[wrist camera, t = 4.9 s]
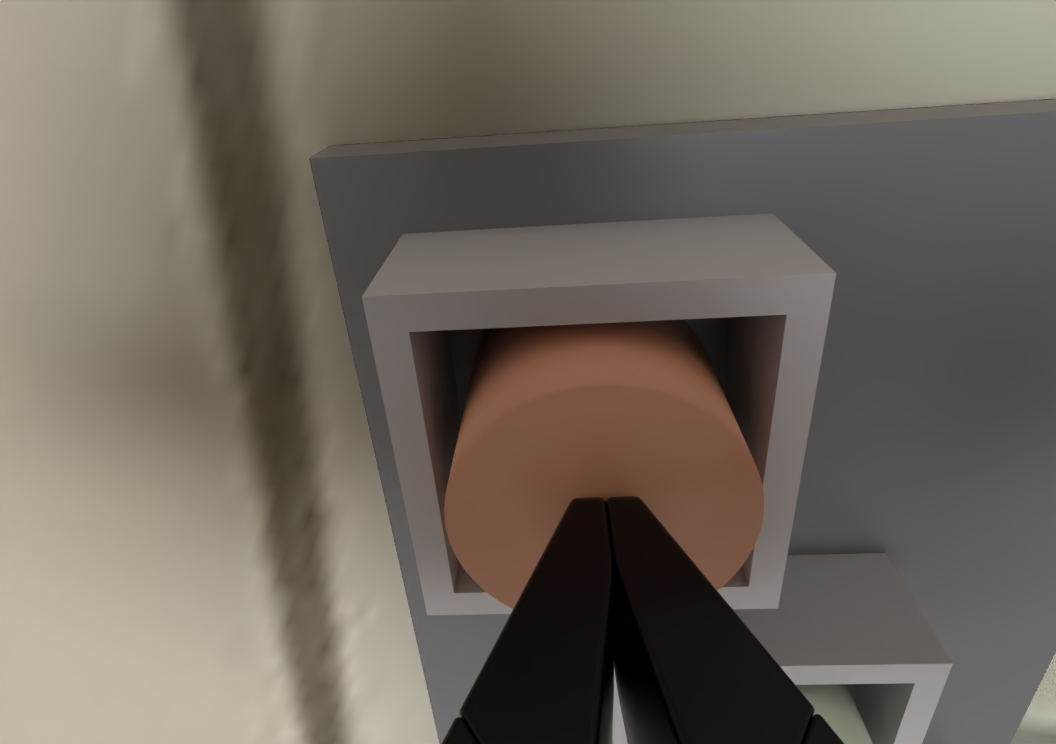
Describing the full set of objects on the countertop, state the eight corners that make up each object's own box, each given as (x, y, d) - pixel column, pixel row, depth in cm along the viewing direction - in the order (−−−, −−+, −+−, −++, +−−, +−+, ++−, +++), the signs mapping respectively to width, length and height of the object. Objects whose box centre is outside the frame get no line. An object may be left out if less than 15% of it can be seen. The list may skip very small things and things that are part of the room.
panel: (1262, 85, 10) (1592, 123, 7) (921, 851, 20) (986, 1001, 17) (329, 145, 10) (237, 203, 7) (475, 850, 21) (462, 993, 18)
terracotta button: (721, 277, 10) (782, 378, 7) (704, 487, 12) (747, 626, 9) (456, 291, 10) (422, 392, 7) (482, 494, 12) (463, 631, 9)
